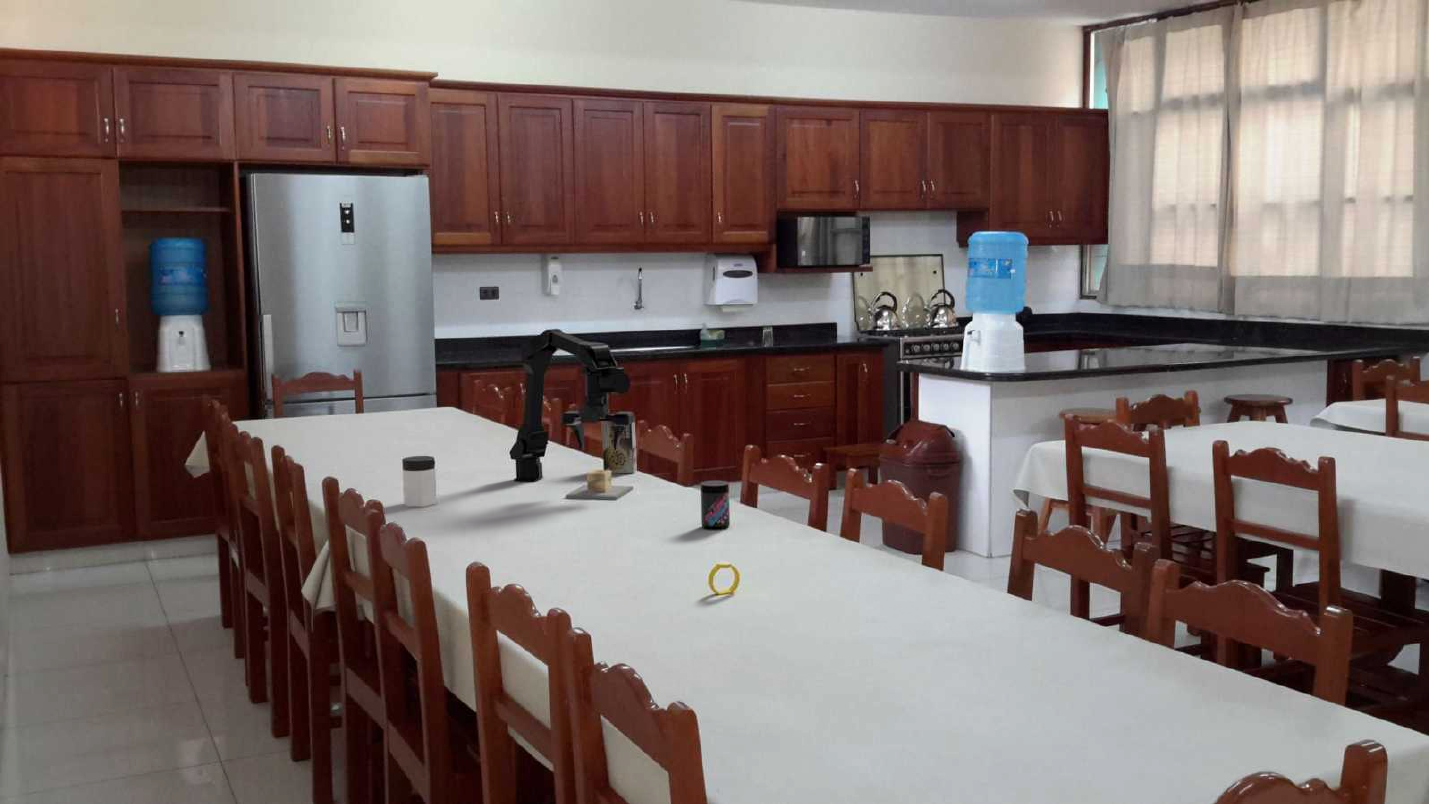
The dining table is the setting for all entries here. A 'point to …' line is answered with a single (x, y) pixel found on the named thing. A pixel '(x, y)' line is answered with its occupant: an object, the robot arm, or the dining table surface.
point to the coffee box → (619, 449)
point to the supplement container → (715, 505)
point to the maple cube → (599, 481)
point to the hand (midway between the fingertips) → (598, 450)
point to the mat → (600, 493)
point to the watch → (719, 565)
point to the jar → (419, 481)
